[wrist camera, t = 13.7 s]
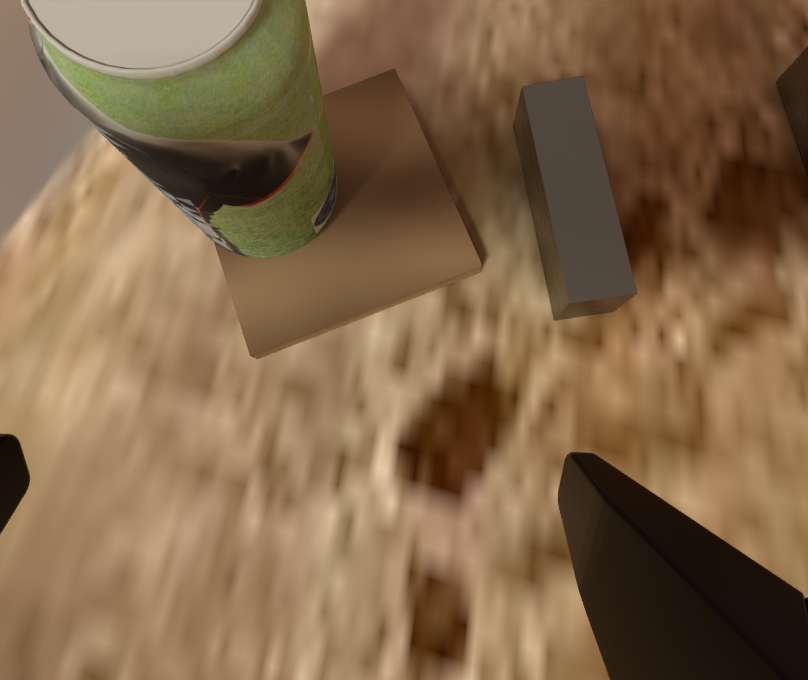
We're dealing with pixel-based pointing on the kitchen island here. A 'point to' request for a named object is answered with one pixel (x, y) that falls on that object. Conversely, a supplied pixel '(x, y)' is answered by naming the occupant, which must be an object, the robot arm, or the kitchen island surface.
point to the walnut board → (359, 229)
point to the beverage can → (204, 107)
